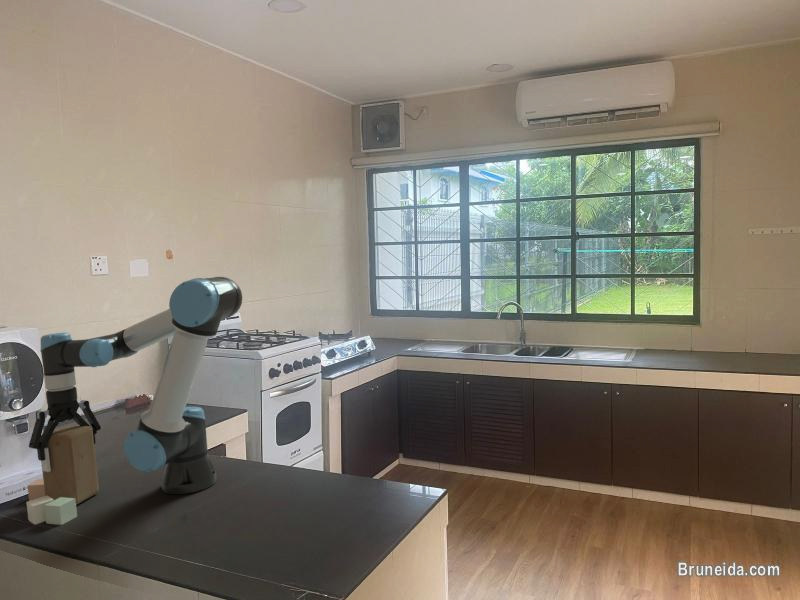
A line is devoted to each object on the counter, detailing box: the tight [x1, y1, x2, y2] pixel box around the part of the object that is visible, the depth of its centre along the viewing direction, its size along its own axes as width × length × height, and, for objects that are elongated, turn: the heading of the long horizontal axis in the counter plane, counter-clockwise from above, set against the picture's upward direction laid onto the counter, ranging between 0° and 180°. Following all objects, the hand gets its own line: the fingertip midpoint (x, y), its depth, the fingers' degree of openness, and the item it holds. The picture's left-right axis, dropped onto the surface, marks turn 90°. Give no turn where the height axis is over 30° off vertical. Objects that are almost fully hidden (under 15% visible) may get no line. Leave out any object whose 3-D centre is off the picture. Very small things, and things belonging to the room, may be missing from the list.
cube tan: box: [27, 478, 45, 501], centre depth 173 cm, size 5×5×5 cm
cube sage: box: [44, 497, 78, 526], centre depth 157 cm, size 5×5×5 cm
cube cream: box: [26, 496, 54, 525], centre depth 159 cm, size 5×5×5 cm
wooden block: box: [40, 425, 100, 506], centre depth 170 cm, size 10×10×20 cm
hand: (69, 463), depth 170 cm, fingers closed on wooden block, 12 cm apart
